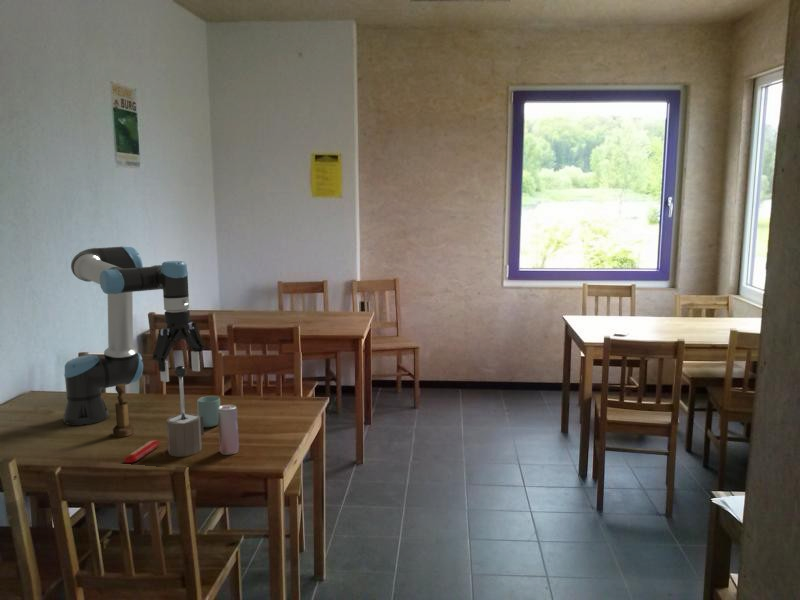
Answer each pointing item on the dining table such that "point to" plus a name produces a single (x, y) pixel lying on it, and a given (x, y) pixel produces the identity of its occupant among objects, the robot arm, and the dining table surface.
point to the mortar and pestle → (122, 415)
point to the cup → (208, 410)
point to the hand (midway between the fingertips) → (181, 376)
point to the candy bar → (141, 451)
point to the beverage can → (228, 429)
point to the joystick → (181, 388)
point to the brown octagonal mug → (184, 434)
